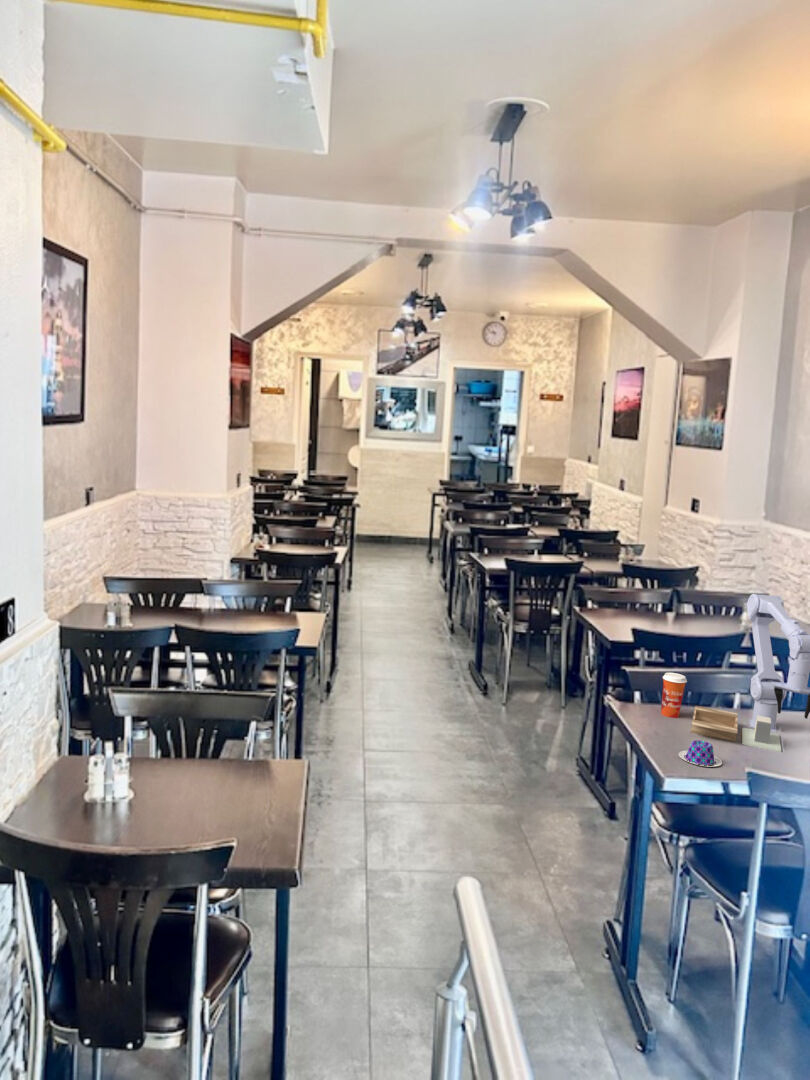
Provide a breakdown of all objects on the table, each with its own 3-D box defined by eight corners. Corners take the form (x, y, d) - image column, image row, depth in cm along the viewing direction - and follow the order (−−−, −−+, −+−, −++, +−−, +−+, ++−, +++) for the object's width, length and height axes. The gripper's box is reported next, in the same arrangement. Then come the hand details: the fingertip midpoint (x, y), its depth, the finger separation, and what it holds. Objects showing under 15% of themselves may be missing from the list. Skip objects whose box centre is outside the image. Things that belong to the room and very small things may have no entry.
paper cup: (657, 717, 285) (663, 676, 283) (657, 710, 292) (663, 670, 290) (682, 721, 283) (688, 680, 281) (681, 715, 290) (687, 674, 288)
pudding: (714, 772, 241) (717, 754, 240) (672, 760, 248) (674, 742, 247) (727, 761, 251) (729, 744, 250) (686, 749, 258) (688, 732, 257)
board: (741, 730, 280) (742, 727, 279) (778, 737, 276) (779, 734, 276) (741, 745, 265) (742, 742, 265) (780, 753, 261) (781, 750, 261)
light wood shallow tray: (693, 718, 287) (695, 705, 287) (735, 726, 283) (737, 713, 282) (690, 737, 268) (691, 723, 267) (735, 746, 263) (737, 732, 262)
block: (754, 733, 274) (756, 715, 274) (767, 736, 273) (770, 717, 272) (754, 741, 267) (757, 722, 266) (768, 744, 265) (771, 725, 265)
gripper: (774, 671, 266) (767, 713, 268) (825, 680, 261) (818, 723, 263) (773, 666, 273) (767, 707, 274) (823, 674, 268) (817, 717, 269)
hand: (792, 715), depth 269 cm, fingers open, 7 cm apart
